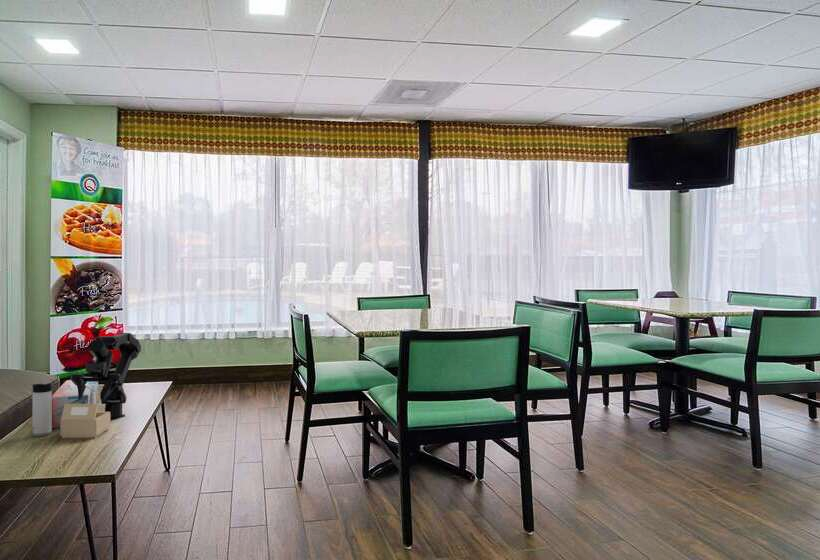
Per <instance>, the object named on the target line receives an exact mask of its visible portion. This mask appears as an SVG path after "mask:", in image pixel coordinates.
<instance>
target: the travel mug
mask: <svg viewBox="0 0 820 560" xmlns="http://www.w3.org/2000/svg"><path fill="white" fill-rule="evenodd" d="M52 391H53V390H52V383H44V384H43V383H34V384H32V413H31V414H32V418H31V419H32V422H31V423H32V425H31V426H32V434H31V435H32V437H37V438H39V437H45V436H46V437H47V436H49V435H51V434H52V429H53V428H52V396H53V394H52Z"/></svg>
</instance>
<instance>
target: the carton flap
mask: <svg viewBox="0 0 820 560" xmlns="http://www.w3.org/2000/svg"><path fill="white" fill-rule="evenodd" d="M98 407H99V403H98V404H65V405H64V409H63V414H62V418H61V420H95V417H96V412H98Z"/></svg>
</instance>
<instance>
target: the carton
mask: <svg viewBox="0 0 820 560" xmlns="http://www.w3.org/2000/svg"><path fill="white" fill-rule="evenodd" d="M59 428H60V430H59V431H60V433H59V434H60V436H61V439H96V438H98V437H99V436H101V435H102V434H101V433H103V432H104V433H106V432H108V431H109V430H108V429H110V428H111V419H110V412H105V411H97V412H96V417H95V420H60V427H59ZM105 431H106V432H105ZM104 433H103V434H104ZM100 434H101V435H100ZM98 435H99V436H98ZM97 436H98V437H97ZM95 437H96V438H95Z"/></svg>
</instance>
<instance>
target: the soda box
mask: <svg viewBox="0 0 820 560" xmlns="http://www.w3.org/2000/svg"><path fill="white" fill-rule="evenodd" d="M85 386H86V388H85V390H84V393H83V396H82V398H81V400H79V398H78V388H77V385H75V384H74V383H73V382H72V381H71V380H70V379H67V380H65V381H64V382H63V384H61V385H60V386H59V388H58V389H57V390H56V391H55V392H54V393H53V394H52V429H53V428H60V420H61V418H62V414H63V409H64V405H65V404H98V405H99V382H87V383H86V384H85Z"/></svg>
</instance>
